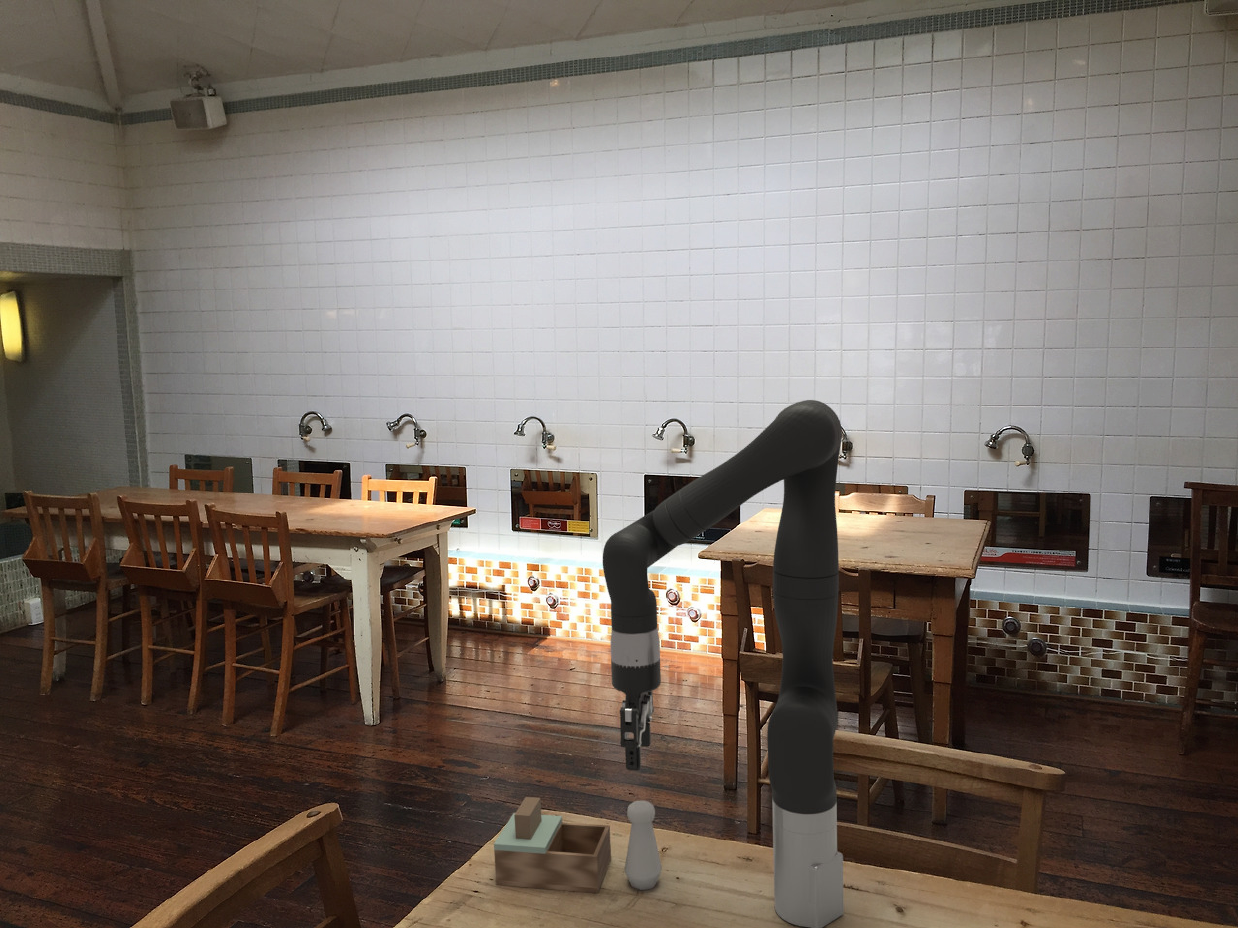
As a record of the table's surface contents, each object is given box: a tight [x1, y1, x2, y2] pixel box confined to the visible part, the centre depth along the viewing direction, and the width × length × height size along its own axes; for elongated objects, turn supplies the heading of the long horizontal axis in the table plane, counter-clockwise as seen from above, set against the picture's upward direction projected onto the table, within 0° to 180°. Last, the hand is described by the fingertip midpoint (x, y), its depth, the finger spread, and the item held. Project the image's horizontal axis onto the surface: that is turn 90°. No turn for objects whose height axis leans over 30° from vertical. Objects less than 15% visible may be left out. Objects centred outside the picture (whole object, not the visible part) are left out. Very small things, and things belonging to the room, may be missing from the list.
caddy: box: [493, 821, 612, 894], centre depth 151 cm, size 17×10×6 cm, turn 78°
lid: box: [493, 796, 563, 854], centre depth 151 cm, size 8×10×5 cm
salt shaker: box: [624, 800, 663, 891], centre depth 147 cm, size 6×6×13 cm
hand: (638, 756), depth 145 cm, fingers open, 8 cm apart
